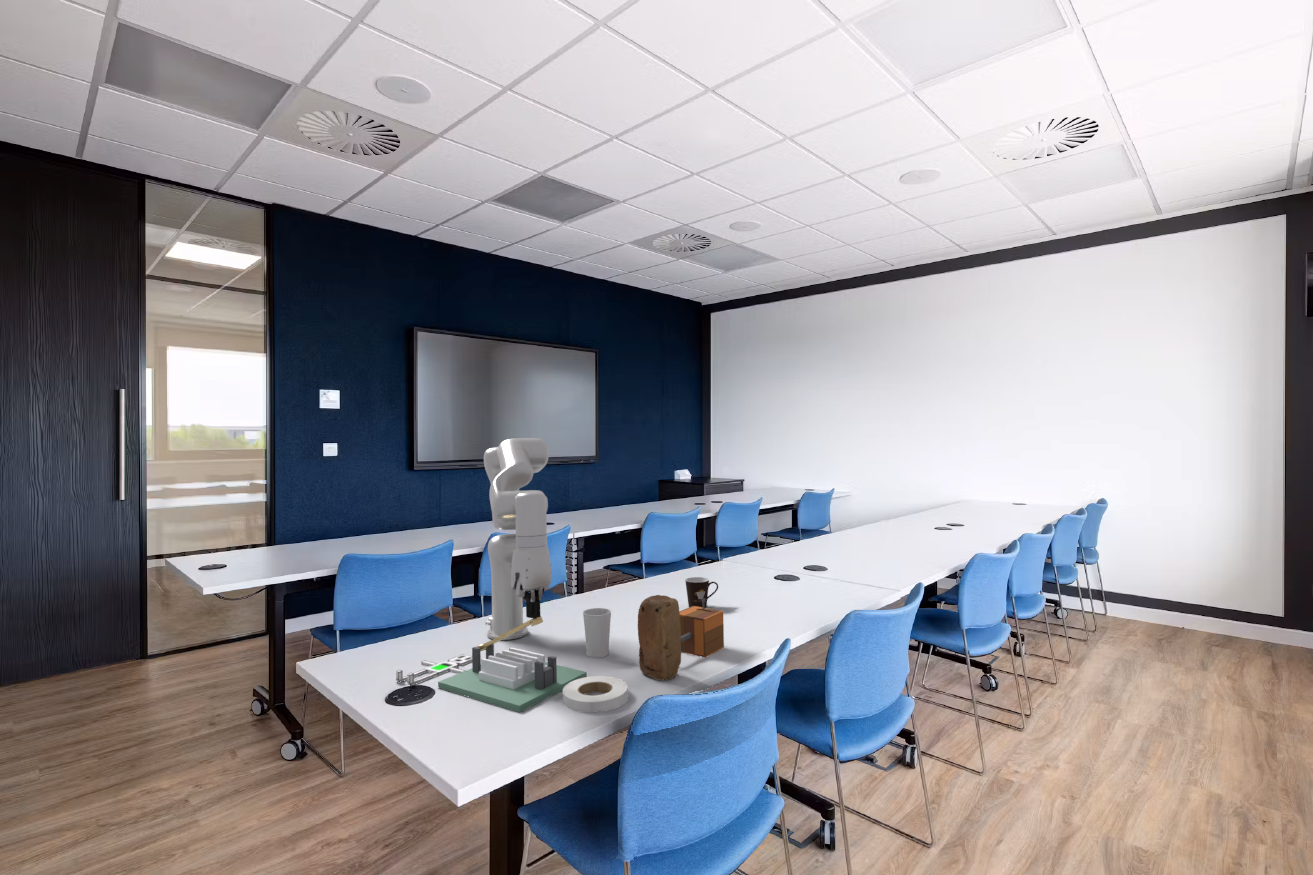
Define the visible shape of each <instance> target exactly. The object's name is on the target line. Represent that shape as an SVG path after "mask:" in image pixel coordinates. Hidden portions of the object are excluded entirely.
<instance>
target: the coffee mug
mask: <svg viewBox="0 0 1313 875" xmlns="http://www.w3.org/2000/svg"><path fill="white" fill-rule="evenodd" d="M684 582H685V588H686V596H687V605H688V608H689V607H692V606H697V607H703V602H702V598H705V602H704V608H707V607H708V606H707V604H708V600H709V599H710V598H711V597H712V596H714V595H715V594H716V593H717V591H718V590H719V584H718V583H717V582H716V581H710V579H709V578H707V577H705V576H704V577H701V576H695V577H693V576H692V577H691V576H690V577H687V578H685V579H684ZM712 584H715V585H716V588H715V590H714V591H713V592H712V593H711V594H708V593H709V588H710V585H712Z"/></svg>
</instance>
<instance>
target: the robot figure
mask: <svg viewBox="0 0 1313 875" xmlns="http://www.w3.org/2000/svg"><path fill="white" fill-rule="evenodd" d="M467 663H468V664H469V663H472V655H468V654H464V653H463V654H460V655H457V656H454V657H452V658H450V659H447V661H445V660H444V661H442V662H439V663H438V662H433V661H428V660H422V661H421V665H423V666H427V665H428V666H427V667H426V668H423V669H420V670H418V671H415V672H409V673H407V675H405V676H403V672H404V671H403V670H402V669H398V670H395V682H396V681H397V682H400V681H404V680H406V681H407V683H406V684H407V685H410V686H411V685H413V686H415V685H414V684H416V683H418V684H420V683H422V682H421V681H423V682H425V681H427V679H428V680H430V679H432V677H433V678H435V677H438V676H440V675H443V674H445V673H448V672H450V671H452V672H451V673H454V674H458V673H461V672H464V671H466V669H462V668H459V666H460V667H462V666H465V665H468V664H467ZM430 666H431V667H430ZM447 671H448V672H447ZM426 672H427V673H428V672H430V673H428V674H427V673H426ZM423 673H424V674H426V675H424V674H423ZM442 673H443V674H442ZM421 674H422V675H424V676H422V675H421ZM418 675H419V676H421V677H419V676H418ZM437 675H438V676H437ZM415 676H417V677H418V678H416V677H415ZM434 676H435V677H434ZM415 678H416V679H415ZM429 678H430V679H429ZM424 680H425V681H424ZM404 682H405V681H404ZM419 682H420V683H419ZM416 685H417V684H416ZM410 686H409V687H410ZM411 687H412V686H411Z"/></svg>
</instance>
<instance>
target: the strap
mask: <svg viewBox="0 0 1313 875" xmlns="http://www.w3.org/2000/svg"><path fill="white" fill-rule="evenodd" d="M543 622H544V620H543V617H542V616H541V615H540V617H537V618H530V619H529V620H527V621H525V622H523V624H521V625H520V626H518V627H516V628H514V629H512V630H510V631H508V632H506V633H504V634H503V635H501V636H499V637H497V638H495V639H491V640H489V641H487V643H486V642H485V643H482V644H479V645H477V646H476V647H479V648H480V653H481V652H483V651H486V649H488V648H489V647H490V646H491V645H493V644H494V645H495V644H496V643H499V642H500V641H503V640H502V639H504V638H506V637H508V636H510V635H512V634H514V633H516V632H518V631H520V630H522V629H523V628H525V627H527V628H528V627H529V626H531V627H534V626H537V625H540V624H542V623H543Z"/></svg>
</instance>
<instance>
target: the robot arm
mask: <svg viewBox="0 0 1313 875" xmlns="http://www.w3.org/2000/svg"><path fill="white" fill-rule="evenodd" d="M549 452H550V451H549V448H548V445H547V443H546V441H544V439H542V438H538V437H522V438H521V437H519V438H518V437H517V438H508V439H504V440H503V441H502V442H500V443H499V445H498V446H495V447H490V448H488V449H486V450H485V451H484V454H483V465H484V469H485V472H486V475H487V478H488V480H489V484H490V487H489V502H490V510H491V515H492V524H493V527H494V528H495V529H496V530H499V531H514V530H515V533H507V534H505V533H504V534H497V535H496V536H495V535H494V536H493V537H491V538H490V539H489V541H488V545H487V554H488V559H489V565H490V573H491V574H490V576H491V579H490V580H491V617H489V618H488V620H486V621H485V625H486V626H489V628H490V629H489V630H488V631H487V634H486V635H487V638H489V639H491V640H493V639H495V638H497V637H499V636H501V635H503V634H504V633H506V632H508V631H510V630H512V629H514V628H516V627H518V626H520V625H521V624H523V623H524V609H523V608H524V606H523V604H524V602H525V615H526V618H528V619H533V618H537V617H540V616H541V601H542V600H543V595H544V592H546V591H547V590H550V584H551V583H552V564H551V563H552V562H551V556H550V550H549V546H548V539H549V538H548V535H547V534H548V533H547V532H548V531H547V528H548V527H547V512H548V508H549V502H548V501H549V500H548V497H547V496H546V495H545V493H544V492H543V491H542V490H536V489H534V490H533V489H530V490H520V489H521V488H523V487H525V486H527V485H528V484H530V482H531V481H532V480H533V476H534V474H536V473H539V472H541V471H542V470H543V469H544V468H545V467H546V466H547V464H548V462H549V454H550V453H549ZM528 633H529V628H528V626H527V627H525V628H523V629H522V630H520V631H518V632H516V633H514V634H512V635H510V636H508V637H506V638H504V639H502V640H501V641H508V640H510V641H511V640H515V639H516V640H517V639H520V638H523V637H525V636H527V635H528Z"/></svg>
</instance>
